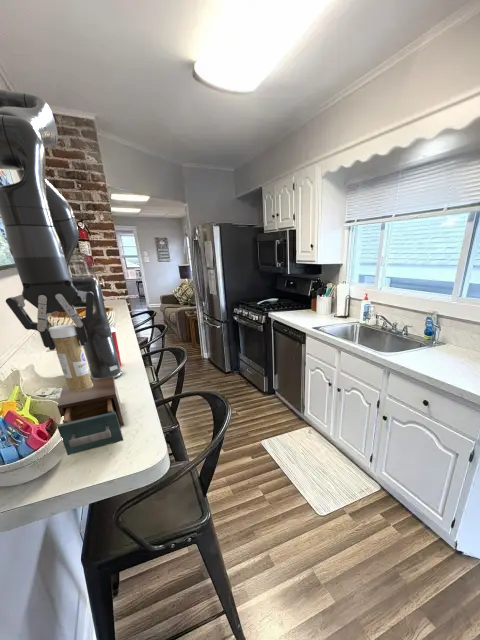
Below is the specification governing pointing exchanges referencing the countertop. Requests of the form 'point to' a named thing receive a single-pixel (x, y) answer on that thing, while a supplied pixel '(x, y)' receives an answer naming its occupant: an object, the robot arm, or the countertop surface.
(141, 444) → the countertop surface
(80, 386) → the sprinkles bottle
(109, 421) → the drawer
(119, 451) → the countertop surface
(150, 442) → the countertop surface
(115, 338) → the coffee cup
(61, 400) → the cabinet
